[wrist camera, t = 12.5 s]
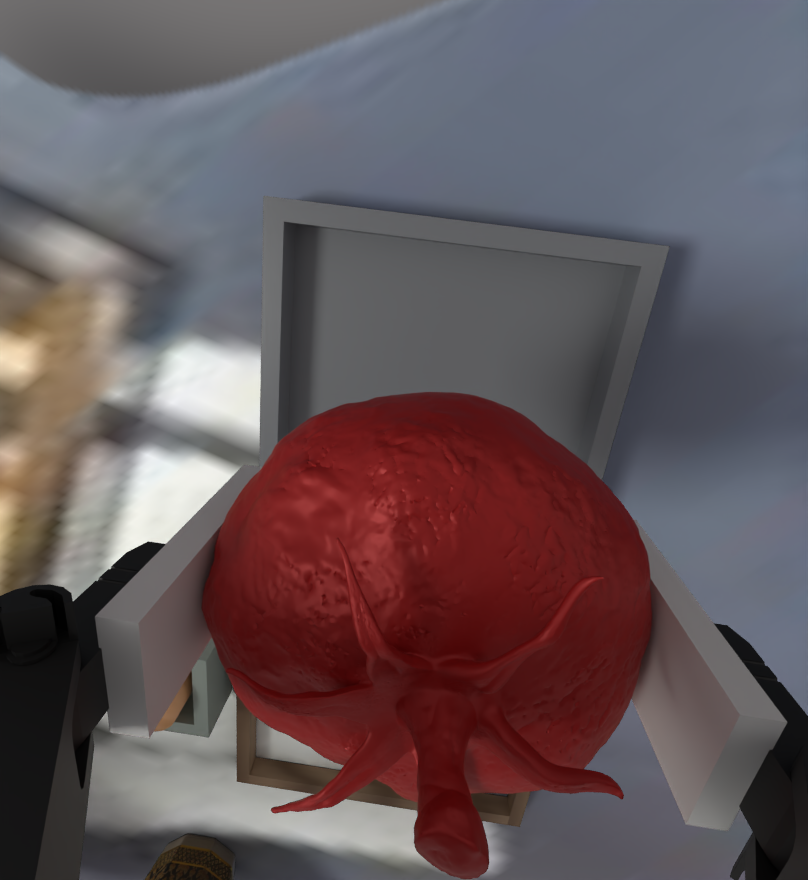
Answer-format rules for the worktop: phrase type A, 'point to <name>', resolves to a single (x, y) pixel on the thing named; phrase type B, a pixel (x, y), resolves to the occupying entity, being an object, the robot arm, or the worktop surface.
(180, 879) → the ceramic cup
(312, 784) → the wooden flat square frame
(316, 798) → the pomegranate
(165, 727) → the button
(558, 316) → the tray
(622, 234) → the worktop surface
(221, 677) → the button housing
